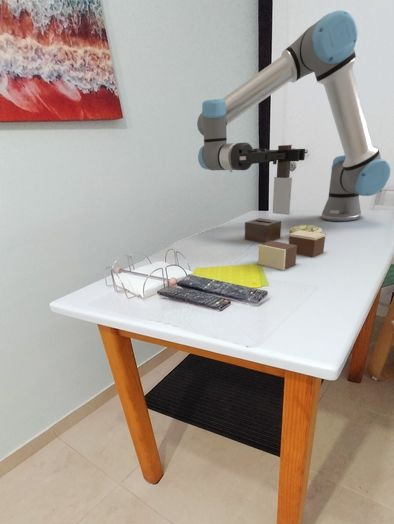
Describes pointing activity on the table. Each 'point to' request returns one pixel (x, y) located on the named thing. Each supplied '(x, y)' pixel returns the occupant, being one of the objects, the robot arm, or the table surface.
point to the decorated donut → (305, 228)
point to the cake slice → (277, 255)
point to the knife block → (262, 230)
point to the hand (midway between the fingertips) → (301, 154)
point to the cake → (308, 242)
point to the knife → (282, 186)
